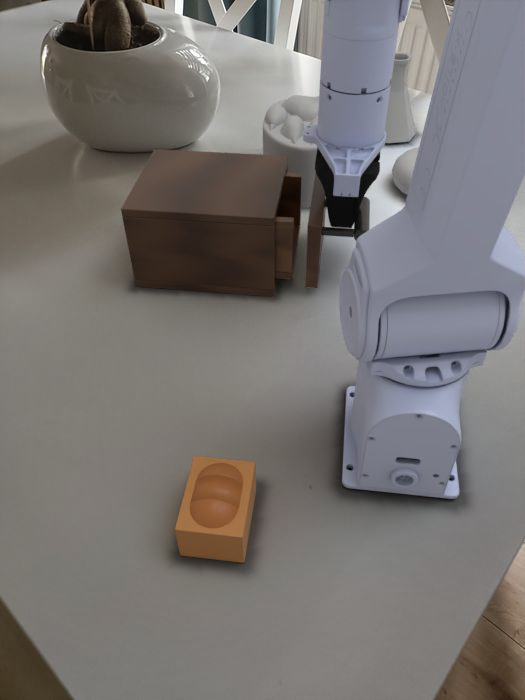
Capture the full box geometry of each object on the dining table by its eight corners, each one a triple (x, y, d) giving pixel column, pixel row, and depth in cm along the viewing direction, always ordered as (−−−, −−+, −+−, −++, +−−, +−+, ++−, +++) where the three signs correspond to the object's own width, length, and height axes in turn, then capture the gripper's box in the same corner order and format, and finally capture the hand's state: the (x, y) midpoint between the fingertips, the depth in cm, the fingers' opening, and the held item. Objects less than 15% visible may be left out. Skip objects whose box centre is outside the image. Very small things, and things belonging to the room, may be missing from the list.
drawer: (365, 230, 65) (372, 171, 61) (363, 292, 58) (371, 229, 53) (208, 221, 67) (203, 162, 62) (187, 279, 60) (180, 217, 55)
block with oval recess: (244, 563, 40) (242, 530, 37) (179, 555, 40) (173, 522, 37) (256, 488, 44) (255, 454, 41) (197, 482, 44) (192, 448, 41)
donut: (387, 205, 71) (478, 212, 69) (391, 178, 69) (485, 184, 67) (392, 164, 78) (474, 170, 76) (395, 138, 76) (480, 143, 74)
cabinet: (286, 230, 67) (288, 155, 61) (274, 296, 59) (274, 218, 53) (164, 222, 69) (154, 148, 63) (135, 286, 60) (120, 208, 54)
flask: (416, 146, 81) (429, 67, 74) (360, 143, 82) (368, 64, 75) (415, 123, 86) (427, 47, 79) (362, 120, 87) (370, 44, 80)
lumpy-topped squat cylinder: (352, 157, 79) (358, 88, 73) (346, 211, 70) (353, 137, 64) (271, 152, 80) (271, 84, 74) (255, 204, 71) (253, 131, 65)
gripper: (312, 45, 56) (305, 181, 65) (298, 117, 45) (292, 266, 55) (392, 48, 55) (373, 185, 65) (395, 122, 45) (373, 272, 54)
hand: (341, 223), depth 60 cm, fingers closed, pressing on drawer
